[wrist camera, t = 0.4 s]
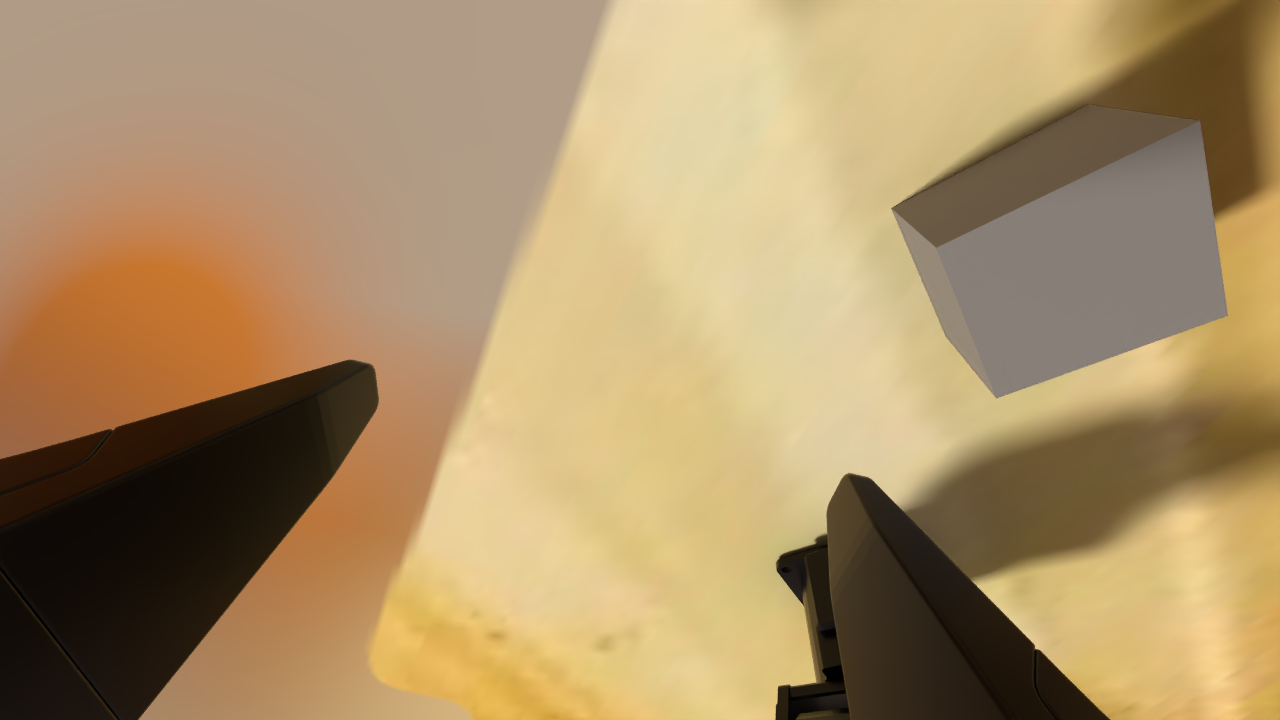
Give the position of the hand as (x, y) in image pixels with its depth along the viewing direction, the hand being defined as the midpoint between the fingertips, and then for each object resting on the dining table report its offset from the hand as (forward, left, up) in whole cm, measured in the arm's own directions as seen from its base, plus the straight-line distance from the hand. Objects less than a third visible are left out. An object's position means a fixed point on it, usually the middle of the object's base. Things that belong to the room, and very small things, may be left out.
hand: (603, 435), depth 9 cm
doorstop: (-6, -11, -12) cm, 17 cm away
